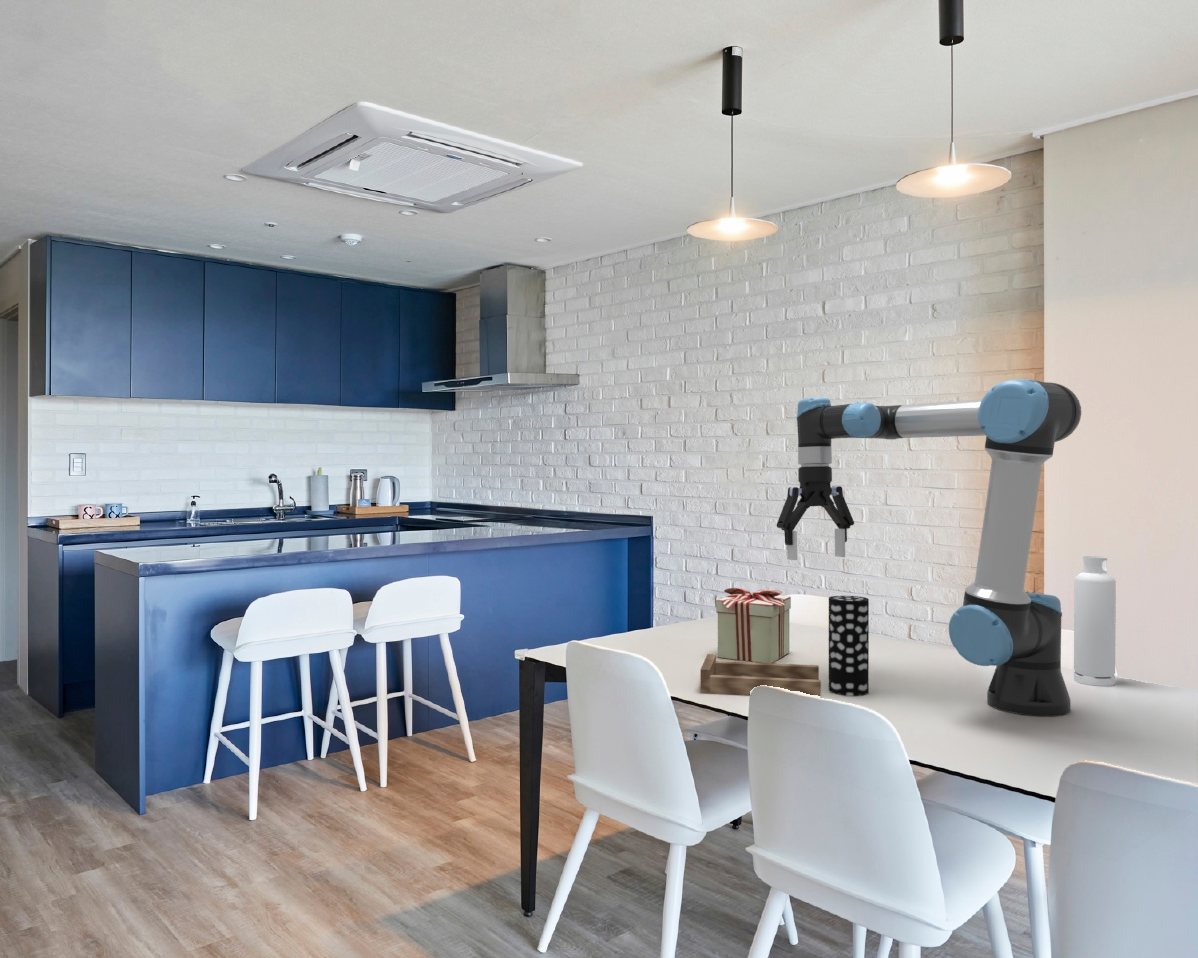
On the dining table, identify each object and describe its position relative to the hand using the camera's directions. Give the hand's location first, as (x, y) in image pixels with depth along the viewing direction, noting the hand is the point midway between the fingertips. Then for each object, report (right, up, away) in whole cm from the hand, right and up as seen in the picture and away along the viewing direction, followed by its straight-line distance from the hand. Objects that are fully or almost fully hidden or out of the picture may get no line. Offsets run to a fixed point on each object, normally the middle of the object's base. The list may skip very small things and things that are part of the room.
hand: (816, 558), depth 204 cm
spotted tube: (+4, -28, -13) cm, 31 cm away
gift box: (-10, -27, +22) cm, 37 cm away
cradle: (-14, -27, -9) cm, 32 cm away
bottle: (+61, -27, -5) cm, 67 cm away
